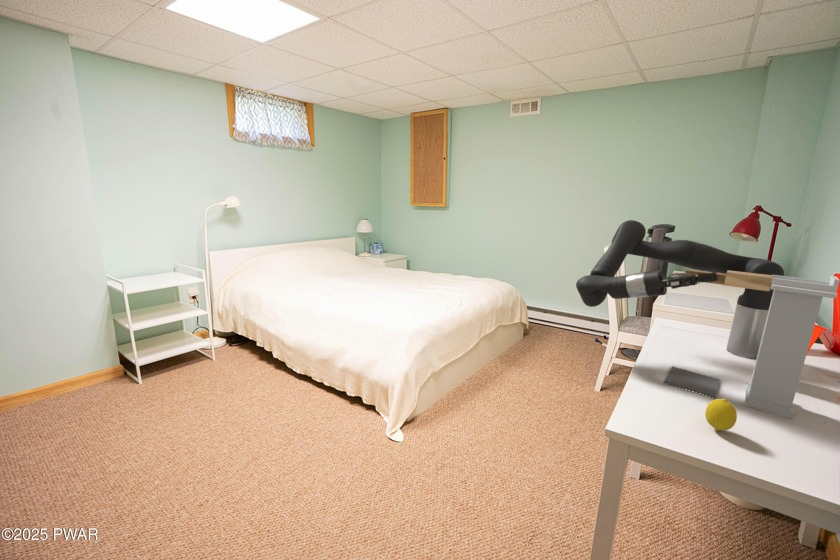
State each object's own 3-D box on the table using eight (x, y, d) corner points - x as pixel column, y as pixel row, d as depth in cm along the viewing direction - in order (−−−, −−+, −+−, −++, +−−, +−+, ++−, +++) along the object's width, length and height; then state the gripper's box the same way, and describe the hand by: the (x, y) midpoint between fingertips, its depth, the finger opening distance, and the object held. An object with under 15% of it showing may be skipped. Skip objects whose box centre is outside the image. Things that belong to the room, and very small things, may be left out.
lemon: (696, 423, 90) (703, 392, 88) (718, 423, 90) (725, 392, 89) (716, 438, 84) (723, 405, 83) (738, 437, 85) (747, 405, 83)
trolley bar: (685, 277, 109) (687, 266, 109) (769, 288, 98) (772, 275, 97) (683, 279, 106) (685, 267, 106) (769, 291, 95) (772, 277, 94)
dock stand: (743, 389, 107) (773, 268, 100) (797, 404, 100) (834, 274, 93) (742, 404, 99) (775, 273, 91) (800, 421, 92) (841, 281, 84)
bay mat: (671, 367, 120) (672, 366, 119) (719, 380, 112) (719, 379, 112) (663, 383, 109) (663, 381, 109) (715, 398, 102) (715, 396, 102)
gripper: (653, 292, 120) (722, 285, 108) (642, 300, 110) (717, 293, 98) (648, 269, 120) (717, 259, 108) (637, 275, 110) (711, 265, 98)
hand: (717, 275), depth 103 cm, fingers closed on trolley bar, 2 cm apart
